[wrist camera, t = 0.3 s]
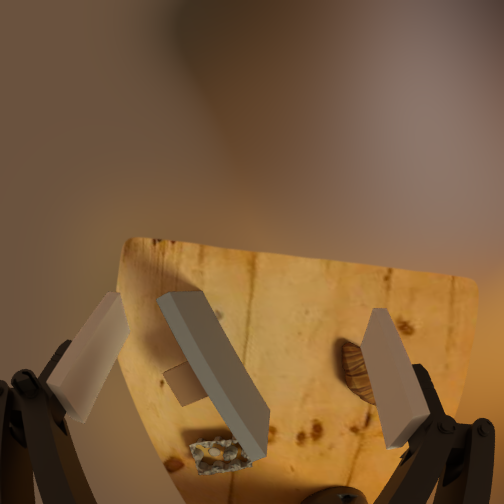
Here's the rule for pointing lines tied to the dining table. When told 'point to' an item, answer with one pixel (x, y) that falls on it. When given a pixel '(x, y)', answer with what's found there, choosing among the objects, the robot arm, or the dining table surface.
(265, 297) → the dining table surface
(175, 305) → the wall board
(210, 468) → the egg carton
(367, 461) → the dining table surface
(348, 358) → the croissant
